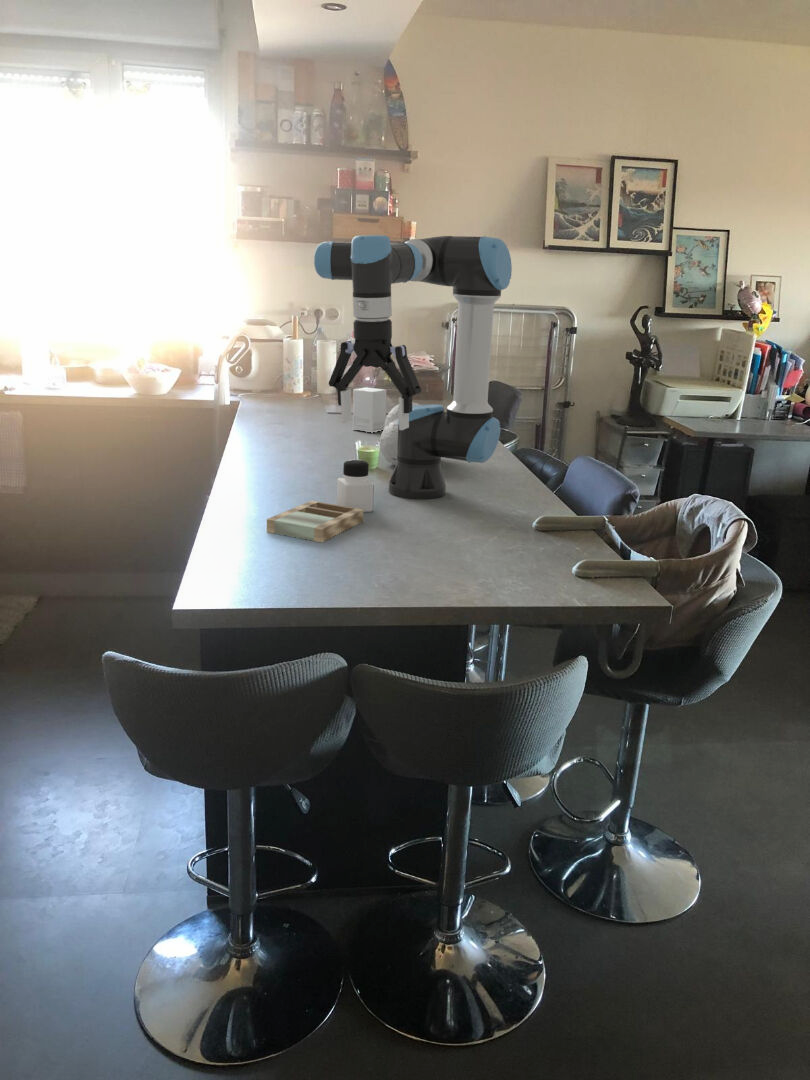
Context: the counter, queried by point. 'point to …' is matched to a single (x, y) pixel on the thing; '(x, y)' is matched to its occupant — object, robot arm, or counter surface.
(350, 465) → the medicine bottle
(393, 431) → the cauliflower
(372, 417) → the supplement box
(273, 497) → the counter surface
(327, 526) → the board
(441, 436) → the robot arm
